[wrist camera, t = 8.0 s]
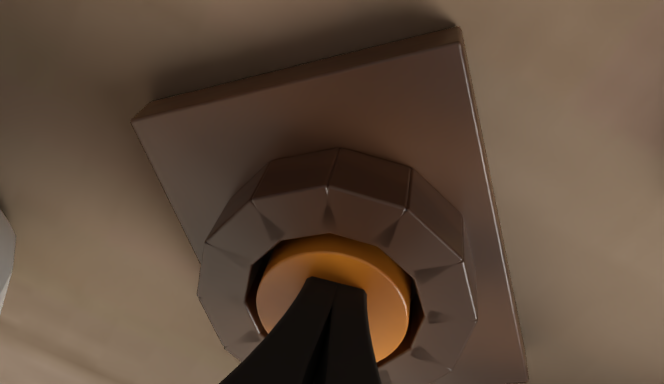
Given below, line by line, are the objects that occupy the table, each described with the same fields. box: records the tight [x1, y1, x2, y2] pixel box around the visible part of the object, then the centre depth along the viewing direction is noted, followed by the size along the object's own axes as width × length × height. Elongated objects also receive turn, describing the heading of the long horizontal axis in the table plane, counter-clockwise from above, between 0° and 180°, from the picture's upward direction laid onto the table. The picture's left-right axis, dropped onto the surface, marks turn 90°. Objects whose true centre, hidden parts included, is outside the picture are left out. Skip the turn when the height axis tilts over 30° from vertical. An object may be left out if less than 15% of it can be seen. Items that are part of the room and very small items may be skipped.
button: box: [256, 233, 412, 362], centre depth 15 cm, size 4×4×2 cm
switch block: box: [131, 26, 529, 384], centre depth 15 cm, size 10×8×3 cm
